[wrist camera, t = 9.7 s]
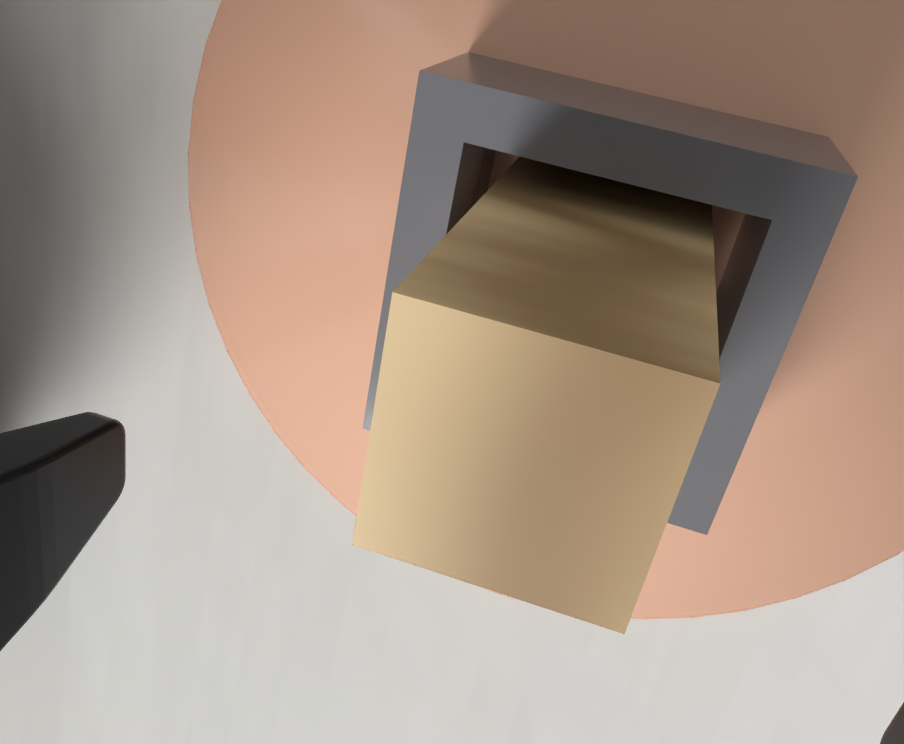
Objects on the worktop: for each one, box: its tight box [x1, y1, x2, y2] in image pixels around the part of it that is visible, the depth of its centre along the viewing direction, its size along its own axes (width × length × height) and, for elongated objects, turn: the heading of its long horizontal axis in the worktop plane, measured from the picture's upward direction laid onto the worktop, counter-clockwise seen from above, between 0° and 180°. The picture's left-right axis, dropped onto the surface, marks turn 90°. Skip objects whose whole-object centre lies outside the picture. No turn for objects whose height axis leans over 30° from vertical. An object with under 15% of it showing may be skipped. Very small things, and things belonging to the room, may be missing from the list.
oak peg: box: [352, 157, 720, 634], centre depth 15 cm, size 4×4×9 cm
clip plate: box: [188, 0, 904, 619], centre depth 18 cm, size 20×20×4 cm
